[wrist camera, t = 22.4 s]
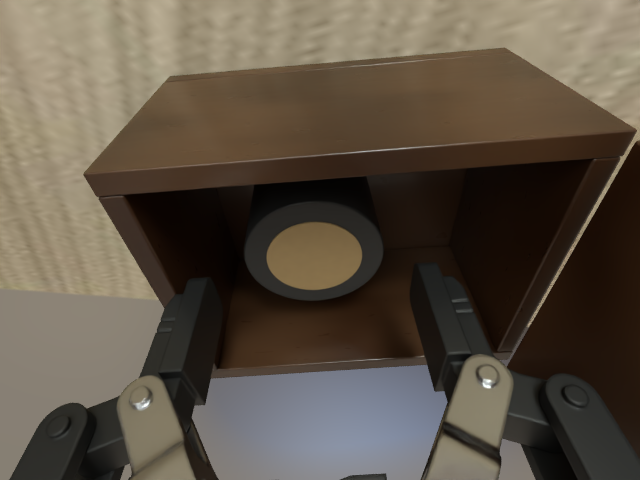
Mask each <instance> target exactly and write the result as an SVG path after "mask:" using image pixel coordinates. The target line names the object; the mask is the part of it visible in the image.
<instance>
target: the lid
mask: <svg viewBox="0 0 640 480" xmlns="http://www.w3.org/2000/svg"><path fill="white" fill-rule="evenodd" d="M507 368H509V369H510V370H512V371H514V372H517V373H520V374H524V375H528V376H532V377H536V378H540V379H544V380H548V379H549V378H550V377H551V376H553V375H555V374H560V373H565V374H570V375H574V376H576V377H579V378H581V379H582V380H584V381H586V382H587V383H589V384H590V385H591V386H592V387H593V388H594V389H595V390H596V391H597V392H598V394H599V395H600V397H601V398H602V400H603V401H604V403H605V405H606V406H607V408H608V409H609V411H610V413H611V414H612V416H613V417H614V419H615V420H616V422H617V424H618V425H619V427H620V428H621V430H622V432H623V433H624V435H625V436H626V438H627V439H628V441H629V443H630V444H631V446H632V447H633V449H634V451H635V452H636V454H637V455H638V457H639V458H640V140H639V141H637V142H636V143H635V144H634V146H633V147H632V149H631V151H630V153H629V154H628V156H627V158H626V160H625V161H624V163H623V165H622V167H621V168H620V170H619V172H618V174H617V175H616V177H615V179H614V181H613V182H612V184H611V186H610V187H609V189H608V191H607V193H606V194H605V196H604V198H603V200H602V201H601V203H600V205H599V207H598V208H597V210H596V212H595V214H594V215H593V217H592V219H591V221H590V222H589V224H588V226H587V228H586V229H585V231H584V233H583V235H582V236H581V238H580V240H579V242H578V243H577V245H576V247H575V249H574V250H573V252H572V254H571V256H570V257H569V259H568V261H567V263H566V264H565V266H564V268H563V270H562V271H561V273H560V275H559V277H558V278H557V280H556V282H555V284H554V285H553V287H552V289H551V291H550V292H549V294H548V296H547V297H546V299H545V301H544V303H543V304H542V306H541V308H540V310H539V311H538V313H537V315H536V317H535V318H534V320H533V322H532V324H531V325H530V327H529V329H528V331H527V333H526V334H525V336H524V338H523V339H522V341H521V343H520V345H519V346H518V348H517V350H516V352H515V353H514V355H513V357H512V359H511V360H510V362H509V364H508V366H507Z"/></svg>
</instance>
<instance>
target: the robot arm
mask: <svg viewBox="0 0 640 480" xmlns="http://www.w3.org/2000/svg"><path fill="white" fill-rule="evenodd" d="M410 303H411V308H412V311H413V315H414V319H415V322H416V326H417V329H418V333H419V337H420V340H421V344H422V347H423V351H424V355H425V358H426V362H427V365H428V369H429V373H430V376H431V380H432V383H433V387H434V391H436V392H437V391H445V395H446V398H447V401H448V403H447V406H446V409H445V411H444V414H443V417H442V420H441V423H440V426H439V429H438V432H437V435H436V438H435V441H434V444H433V446H432V450H431V452H430V456H429V458H428V461H427V464H426V466H425V469H424V472H423V475H422V477H421V480H498V478H499V474H500V468H501V456H500V453H499V452H500V446H501V440H502V438H503V439H506V440H510V441H513V442H517V443H520V444H521V446H522V448H523V451H524V453H525V455H526V458H527V460H528V462H529V465H530V467H531V470H532V472H533V474H534V477H535V479H536V480H640V458H639V457H638V455H637V454H636V452H635V451H634V449H633V447H632V446H631V444H630V443H629V441H628V439H627V438H626V436H625V435H624V433H623V432H622V430H621V428H620V427H619V425H618V424H617V422H616V420H615V419H614V417H613V416H612V414H611V413H610V411H609V409H608V408H607V406H606V405H605V403H604V401H603V400H602V398H601V397H600V395H599V394H598V392H597V391H596V390H595V389H594V388H593V387H592V386H591V385H590V384H589V383H587V382H586V381H584V380H582V379H581V378H579V377H576V376H574V375H570V374H565V373H560V374H555V375H553V376H551V377H550V378H549V379H548V380H544V379H540V378H536V377H532V376H528V375H524V374H520V373H517V372H514V371H512V370H510V369H509V368H507V367H506V366H505V365H504V364H503V363H502V362H501V361H499V360H498V359H497V358H496V357H495V356H494V354H493V353H492V351H491V349H490V347H489V344H488V342H487V340H486V337H485V335H484V333H483V330H482V328H481V326H480V324H479V321H478V319H477V317H476V314H475V312H473V308H472V305H471V303H470V302H469V298H468V296H467V294H466V291H465V289H464V287H463V286H462V285H461V284H460V283H459V282H458V281H457V280H456V279H455V278H454V277H453V276H442V273H441V271H440V268H439V266H438V264H437V263H436V262H428V263H415V264H414V267H413V273H412V280H411V286H410ZM222 321H223V304H222V301H221V299H220V296H219V294H218V291H217V289H216V286H215V284H214V282H213V279H212V278H211V277H206V278H192V279H189V280H188V281H187V284H186V287H185V290H184V293H183V294H175V295H174V297H173V298H172V299H171V300H170V301H169V303H168V304H167V305H166V306H165V309H164V312H163V315H162V317H161V322H160V323H159V326H158V328H157V333H156V334H155V337H154V339H153V342H152V345H151V347H150V350H149V353H148V356H147V358H146V361H145V364H144V367H143V369H142V372H141V374H140V377H139V378H138V379H136V380H135V381H133V382H132V383H130V384H129V385H128V386H127V387H126V388H125V389H124V391H123V392H122V393H121V395H120V396H118V397H116V398H114V399H111V400H109V401H106V402H103V403H101V404H98V405H96V406H93V407H90V408H88V409H86V408H85V407H84V406H83V405H81V404H79V403H69V404H65V405H63V406H60V407H58V408H57V409H55V410H54V411H52V412H51V413H50V414H48V415H47V416H46V417H45V419H43V421H42V422H41V423H40V424H39V426H38V428H37V429H36V431H35V433H34V435H33V437H32V439H31V441H30V443H29V444H28V446H27V448H26V450H25V452H24V454H23V455H22V457H21V459H20V461H19V463H18V465H17V467H16V469H15V471H14V472H13V474H12V476H11V478H10V480H120V478H121V475H122V472H123V470H124V466H125V465H127V464H129V463H130V466H131V470H132V475H131V477H130V478H129V479H128V480H219V479H218V478H217V476H216V474H215V472H214V470H213V468H212V466H211V464H210V461H209V459H208V456H207V454H206V451H205V449H204V447H203V444H202V442H201V439H200V437H199V434H198V432H197V429H196V427H195V424H194V422H193V420H192V413H193V409H194V406H195V405H205V403H206V398H207V393H208V388H209V383H210V379H211V374H212V369H213V364H214V360H215V355H216V350H217V345H218V340H219V335H220V331H221V326H222ZM341 480H387V477H386V474H370V475H352V476H348V477H346V478H343V479H341Z"/></svg>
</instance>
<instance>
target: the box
mask: <svg viewBox="0 0 640 480" xmlns="http://www.w3.org/2000/svg"><path fill="white" fill-rule="evenodd" d="M636 132H637V130H636V129H635V128H633V127H632V126H630V125H628V124H627V123H625V122H624V121H622V120H620V119H619V118H617V117H616V116H614V115H612V114H611V113H609V112H608V111H606V110H604V109H603V108H601V107H600V106H598V105H596V104H595V103H593V102H592V101H590V100H588V99H587V98H585V97H583V96H582V95H580V94H579V93H577V92H575V91H574V90H572V89H571V88H569V87H567V86H566V85H564V84H563V83H561V82H559V81H558V80H556V79H555V78H553V77H551V76H550V75H548V74H547V73H545V72H543V71H542V70H540V69H539V68H537V67H535V66H534V65H532V64H530V63H529V62H527V61H526V60H524V59H522V58H521V57H519V56H518V55H516V54H514V53H513V52H511V51H509V50H508V49H506V48H498V49H486V50H474V51H462V52H451V53H439V54H427V55H416V56H404V57H392V58H381V59H369V60H357V61H345V62H334V63H322V64H310V65H299V66H287V67H275V68H263V69H252V70H240V71H228V72H217V73H205V74H193V75H182V76H170V77H169V78H168V79H167V80H166V81H165V83H163V84H162V86H161V87H160V88H159V89H158V90H157V91H156V92H155V93H154V95H153V96H152V97H151V98H150V99H149V100H148V101H147V102H146V104H145V105H144V106H143V107H142V108H141V109H140V110H139V111H138V113H137V114H136V115H135V116H134V117H133V118H132V119H131V120H130V122H129V123H128V124H127V125H126V126H125V127H124V128H123V129H122V131H121V132H120V133H119V134H118V135H117V136H116V137H115V138H114V140H113V141H112V142H111V143H110V144H109V145H108V146H107V148H106V149H105V150H104V151H103V152H102V153H101V154H100V155H99V157H98V158H97V159H96V160H95V161H94V162H93V163H92V164H91V166H90V167H89V168H88V169H87V170H86V171H85V172H84V176H85V178H86V180H87V181H88V183H89V185H90V186H91V188H92V190H93V191H94V193H95V195H96V196H97V197H99V200H100V202H101V204H102V205H103V207H104V209H105V210H106V212H107V214H108V215H109V217H110V219H111V220H112V222H113V224H114V225H115V227H116V229H117V230H118V232H119V234H120V235H121V237H122V239H123V240H124V242H125V244H126V245H127V247H128V249H129V250H130V252H131V254H132V255H133V257H134V259H135V260H136V262H137V264H138V265H139V267H140V269H141V270H142V272H143V274H144V275H145V277H146V279H147V280H148V282H149V284H150V285H151V287H152V289H153V290H154V292H155V294H156V295H157V297H158V299H159V300H160V302H161V303H162V305H163V307H164V308H165V306H166V305H167V304H168V303H169V301H170V300H171V299H172V298H173V297H174V295H175V294H183V293H184V290H185V287H186V284H187V281H188V280H189V279H192V278H206V277H211V278H212V279H213V282H214V284H215V286H216V289H217V291H218V294H219V296H220V299H221V301H222V304H223V321H222V326H221V331H220V335H219V340H218V345H217V350H216V355H215V360H214V364H213V369H212V374H211V378H225V377H241V376H256V375H271V374H272V375H273V374H288V373H302V372H303V373H304V372H319V371H335V370H351V369H366V368H381V367H397V366H413V365H427V362H426V358H425V355H424V351H423V347H422V344H421V340H420V337H419V333H418V329H417V326H416V322H415V319H414V315H413V311H412V308H411V303H410V286H411V280H412V273H413V267H414V264H415V263H428V262H436V263H437V264H438V266H439V268H440V271H441V273H442V276H453V277H454V278H455V279H456V280H457V281H458V282H459V283H460V284H461V285H462V286H463V287H464V289H465V291H466V294H467V296H468V298H469V302H470V303H471V305H472V308H473V312H475V314H476V317H477V319H478V321H479V324H480V326H481V328H482V330H483V333H484V335H485V337H486V340H487V342H488V344H489V347H490V349H491V351H492V353H493V354H494V356H495V357H496V358H497V359H498V360H507V359H509V357H510V355H511V354H512V352H513V351H512V350H513V349H514V348H515V346H516V344H517V342H518V341H519V339H520V337H521V335H522V334H523V332H524V330H525V328H526V326H527V325H528V323H529V321H530V319H531V318H532V316H533V314H534V312H535V310H536V309H537V307H538V305H539V303H540V302H541V300H542V298H543V296H544V294H545V293H546V291H547V289H548V287H549V285H550V284H551V282H552V280H553V278H554V277H555V275H556V273H557V271H558V269H559V268H560V266H561V264H562V262H563V261H564V259H565V257H566V255H567V253H568V252H569V250H570V248H571V246H572V245H573V243H574V241H575V239H576V237H577V236H578V234H579V232H580V230H581V228H582V227H583V225H584V223H585V221H586V220H587V218H588V216H589V214H590V212H591V211H592V209H593V207H594V205H595V204H596V202H597V200H598V198H599V196H600V195H601V193H602V191H603V189H604V188H605V186H606V184H607V182H608V180H609V179H610V177H611V175H612V173H613V171H614V170H615V168H616V166H617V164H618V163H619V161H620V156H623V155H624V153H625V151H626V150H627V148H628V146H629V144H630V143H631V141H632V139H633V137H634V135H635V134H636ZM361 176H366V177H367V181H368V184H369V188H370V192H371V196H372V200H373V203H374V207H375V211H376V215H377V218H378V222H379V226H380V230H381V234H382V237H383V242H384V254H383V259H382V262H381V265H380V266H379V268H378V270H377V272H376V273H375V274H374V276H373V277H372V278H371V279H370V280H369V281H368V282H366V283H365V284H364V285H363V286H361V287H359V288H358V289H356V290H354V291H352V292H350V293H348V294H345V295H343V296H339V297H336V298H332V299H326V300H316V301H307V300H297V299H291V298H287V297H284V296H281V295H278V294H276V293H273V292H272V291H270V290H268V289H266V288H265V287H263V286H262V285H261V284H260V283H258V282H257V281H256V280H255V279H254V277H253V276H252V275H251V273H250V272H249V270H248V268H247V265H246V263H245V259H244V244H245V238H246V232H247V226H248V220H249V213H250V207H251V201H252V195H253V189H254V185H257V184H270V183H283V182H296V181H309V180H322V179H335V178H348V177H361Z"/></svg>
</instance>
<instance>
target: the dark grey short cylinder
mask: <svg viewBox="0 0 640 480" xmlns="http://www.w3.org/2000/svg"><path fill="white" fill-rule="evenodd" d="M383 254H384V242H383V237H382V234H381V230H380V226H379V222H378V218H377V215H376V211H375V207H374V203H373V200H372V196H371V192H370V188H369V184H368V181H367V177H366V176H361V177H348V178H335V179H322V180H309V181H296V182H283V183H270V184H257V185H254V189H253V195H252V201H251V207H250V213H249V220H248V226H247V232H246V238H245V244H244V259H245V263H246V265H247V268H248V270H249V272H250V273H251V275H252V276H253V277H254V279H255V280H256V281H257V282H258V283H260V284H261V285H262V286H263V287H265V288H266V289H268V290H270V291H272V292H273V293H276V294H278V295H281V296H284V297H287V298H291V299H297V300H307V301H316V300H326V299H332V298H336V297H339V296H343V295H345V294H348V293H350V292H352V291H354V290H356V289H358V288H359V287H361V286H363V285H364V284H365V283H366V282H368V281H369V280H370V279H371V278H372V277H373V276H374V274H375V273H376V272H377V270H378V268H379V266H380V265H381V262H382V259H383Z"/></svg>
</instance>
